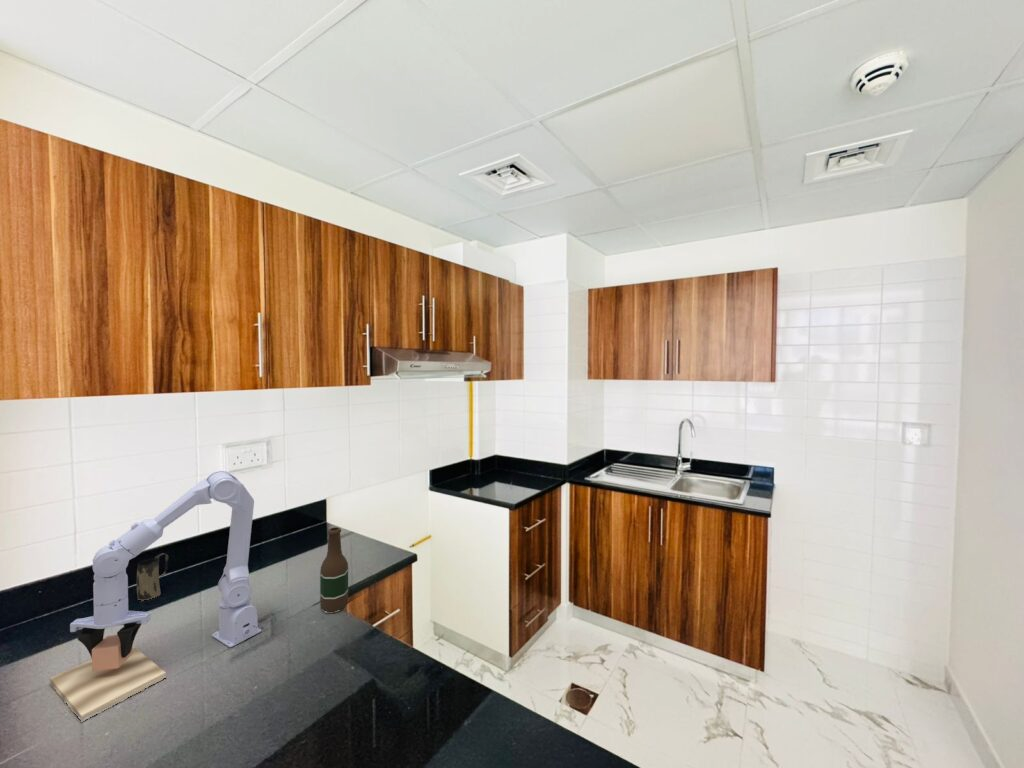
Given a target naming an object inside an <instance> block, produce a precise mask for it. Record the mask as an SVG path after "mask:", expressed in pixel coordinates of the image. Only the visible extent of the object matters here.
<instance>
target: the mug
mask: <svg viewBox="0 0 1024 768" xmlns="http://www.w3.org/2000/svg"><path fill="white" fill-rule="evenodd" d="M163 555H165V558H164V559H165V563H164V572H163V573H162V574H160V573H159V571H160V570H159V569H160V557H161V556H163ZM168 567H169V554H168V553H165V552H162V553H159V554H157V555H156V556H155V557H154V558H153V557H151V558H148V559H144V560H141V561H140V562H138V563H137V569H136V594H137V601H138V600H141V601H140V602H145V601H144V600H148V601H150V600H149V599H151V600H153V599H152V598H154V599H156V598H158V597H159V596H160V595H161V594H162V591H161V587H160V577H163V576H165V575H167V571H168ZM157 596H158V597H157ZM155 597H156V598H155Z"/></svg>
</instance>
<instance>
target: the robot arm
mask: <svg viewBox="0 0 1024 768" xmlns="http://www.w3.org/2000/svg"><path fill="white" fill-rule="evenodd" d="M211 499H213V500H214V501H215V502H219V503H222V504H226V505H228V506H229V507H230V508H231V516H230V526H229V533H228V534H229V536H228V545H227V552H226V553H227V556H226V564H225V566H224V568H223V573H222V575H221V578H220V579H219V581H218V583H217V589H218V590H219V592H220V594H221V598H220V600H219V601H218V630H216V631H215V632H213V633H211V637H213V638H214V639H216V640H217V641H219V642H221V643H222V644H224V645H225V646H227V647H228V648H233V647H234V646H236V645H238V644H240V643H242V642H244V641H245V640H247V639H250V638H252V637H254V636H255V635H257V634H259V633H261V632H262V629H261V628H259V627H258V622H259V621H258V610H257V608H256V607H255V606H254V605H253V604H252V598H251V597H252V592H253V590H252V589H253V588H252V586H251V584H250V571H249V565H248V564H249V556H250V555H249V554H250V545H251V536H252V535H251V534H252V525H253V517H254V507H255V500H254V498H253V496H252V495H251V494H250V492H249V491H248V490H247V488H246V487H245V486H244V484H243V483H242V482H241V481H240V480H239V479H238V478H237V477H236V476H235V475H233V474H231V473H229V472H228V471H224V470H218V471H215V472H214V471H213V472H212V473H211V474H209V475H208V476H207V478H203V479H201V480H200V481H199V482H197V483H196V484H195V485H194V486H193V487H192V488H190V489H189V490H188V491H186V492H185V493H183V495H181V496H180V497H179V498H178V499H176V500H175V501H174V502H172V503H171V504H170V505H169V506H168V507H166V508H165V509H164V510H163V511H161V512H160V513H159V514H158V515H157V516H155V517H154V518H149V519H143V520H141V521H140V522H137V521H136V522H134V523H133V524H131V525H130V529H129V530H128V531H126V532H125V533H124V534H122V535H120V537H117V539H112V540H111V541H110V542H108V545H105V546H103V547H101V548H100V549H98V550H97V551H96V552H95V554H94V556H93V559H92V567H91V568H92V571H93V573H94V574H93V581H94V582H93V584H92V587H93V590H92V591H93V615H92V616H88V617H87V616H86V617H83V618H76V619H75V620H74V621H72V622H71V623H70V624H69V632H70V633H75V632H77V631H79V630H81V633H80V634H79V635H77V640H78V641H79V642H80V643H81V644H83V645H84V647H85V648H86V649H87V652H88V653H89V655H90V658H91V659H92V649H93V648H94V647H95V646H96V645H98V644H99V643H100V642H101V641H102V640H103V639H104V635H105V630H106V629H109V628H112V627H117V626H122V627H121V628H120V629H119V630H118V631H117V632H116V635H118V637H119V639H120V644H121V656H122V658H125V657H126V656H127V655H128V654H129V653H130V652H131V649H132V645H133V644H134V641H135V638H136V635H137V633H138V632H139V630H140V627H141V626H142V625H147V624H148V623H149V622H150V621H151V620H152V612H151V611H139V610H137V611H136V610H129V580H128V579H129V577H128V574H127V568H128V566H129V563H130V562H129V561H130V560H132V559H134V558H136V557H137V556H139V555H140V554H141V553H143V551H145V550H146V549H147V548H149V547H150V546H152V545H153V544H154V543H156V541H158V540H159V539H160V538H162V537H163V533H164V529H165V528H166V527H168V526H170V525H171V524H172V523H173V522H175V521H176V520H178V519H180V517H182V516H184V515H185V514H186V513H188V512H189V511H190V510H191V509H194V508H195V507H196V506H200V505H209V504H213V503H212V501H211ZM133 646H134V645H133Z"/></svg>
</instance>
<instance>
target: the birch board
mask: <svg viewBox="0 0 1024 768" xmlns="http://www.w3.org/2000/svg"><path fill="white" fill-rule="evenodd" d="M166 675H167V672H166V671H165V670H164V669H162V668H161V667H160V666H159V665H157V664H156V663H155V662H154V661H153V660H151V659H150V658H149V657H148V656H147V655H145V654H144V653H143V652H142V651H140V650H139V649H138V648H137V647H136V646H135V645H133V654H132V655H131V656H130V657H129V658H128V659H127V660H126V661H125V662H124V663H123V664H122V665H121V666H120V667H119V668H115V669H107V670H99V671H92V659H90V660H87V661H86V662H83V663H81V664H78V665H76V666H74V667H72V668H70V669H67V670H65V671H63V672H61V673H57V674H56V675H53V676H52V677H49V685H50V686H51V688H52V689H53V690H54V689H55V690H56V691H55V690H54V691H55V692H56V693H57V695H58V694H59V695H60V696H61V697H62V698H61V697H60V696H59V695H58V696H59V697H60V698H61V700H62V701H63V700H64V701H65V702H66V703H67V704H68V705H69V707H70V708H71V709H72V710H73V711H74V712H75V713H76V714H77V715H78V716H79V717H80V718H81V720H82V719H84V718H86V717H87V716H89V715H92V714H94V713H96V712H99V711H101V710H103V709H105V708H107V707H109V706H111V705H113V704H116V703H117V702H119V701H121V700H123V699H125V698H127V697H130V696H132V695H134V694H136V693H138V692H140V691H142V690H143V691H145V690H146V689H145V688H147V687H148V686H150V685H152V684H154V683H156V682H158V681H160V680H161V679H163V678H165V677H166ZM166 678H167V677H166ZM144 689H145V690H144ZM147 689H148V688H147ZM143 691H142V692H143ZM140 693H141V692H140ZM138 694H139V693H138ZM136 695H137V694H136ZM134 696H135V695H134ZM132 697H133V696H132ZM130 698H131V697H130ZM64 701H63V702H64ZM65 702H64V703H65ZM66 703H65V704H66ZM67 704H66V705H67ZM69 707H68V708H69ZM70 708H69V709H70ZM71 709H70V710H71ZM72 710H71V711H72Z"/></svg>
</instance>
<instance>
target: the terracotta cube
mask: <svg viewBox="0 0 1024 768" xmlns="http://www.w3.org/2000/svg"><path fill="white" fill-rule="evenodd" d="M133 646H134V645H132V649H131V652H130V653H129V654H128V655H127V656H126V657H125V658H122V656H121V644H120V639H119V637H118V635H117V634H111V635H107V636H106V637H105V638H104V637H103V640H102V641H101V642H100V643H99V644H98V645H96V646H95V647H94V648H93V649H92V658H91V660H92V671H99V670H107V669H115V668H119V667H120V666H121V665H122V664H123V663H124V662H125V661H126V660H127V659H128V658H129V657H130V656H131V655H132V654H133Z"/></svg>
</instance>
